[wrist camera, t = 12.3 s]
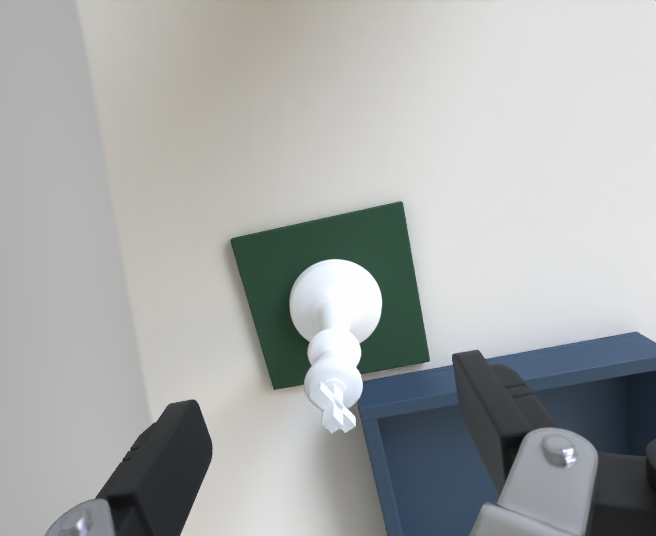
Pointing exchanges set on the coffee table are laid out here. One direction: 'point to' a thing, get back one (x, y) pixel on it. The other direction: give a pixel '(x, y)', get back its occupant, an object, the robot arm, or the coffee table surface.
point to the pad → (325, 244)
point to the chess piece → (335, 333)
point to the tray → (458, 446)
